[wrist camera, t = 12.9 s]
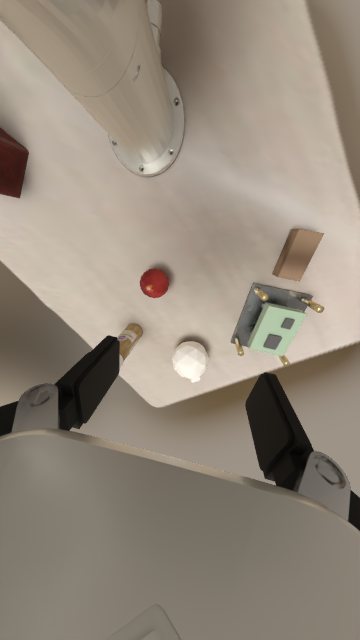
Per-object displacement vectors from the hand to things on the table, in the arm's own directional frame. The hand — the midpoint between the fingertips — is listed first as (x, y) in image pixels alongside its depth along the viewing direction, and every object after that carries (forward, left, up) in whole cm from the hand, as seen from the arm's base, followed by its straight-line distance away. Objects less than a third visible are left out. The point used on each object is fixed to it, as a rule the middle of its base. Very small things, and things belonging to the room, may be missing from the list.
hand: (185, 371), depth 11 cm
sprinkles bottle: (+17, -14, -28) cm, 36 cm away
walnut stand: (-8, +16, -28) cm, 33 cm away
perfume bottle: (+20, +2, -28) cm, 35 cm away
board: (+6, +17, -24) cm, 30 cm away
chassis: (+6, +17, -28) cm, 34 cm away
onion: (+2, -9, -28) cm, 30 cm away
